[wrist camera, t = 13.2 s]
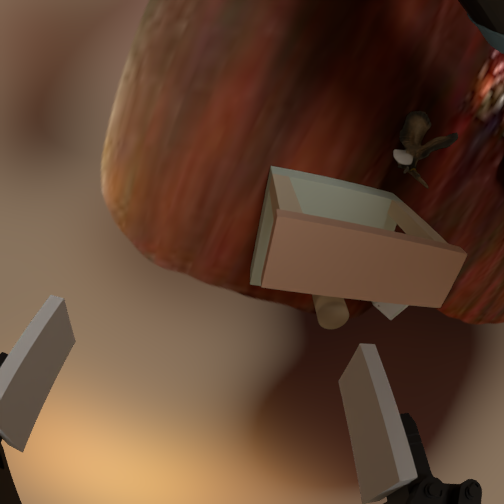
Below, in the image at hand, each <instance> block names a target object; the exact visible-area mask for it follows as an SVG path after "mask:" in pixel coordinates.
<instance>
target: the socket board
mask: <svg viewBox="0 0 504 504" xmlns="http://www.w3.org/2000/svg"><path fill="white" fill-rule="evenodd" d="M272 174H278V175H283V176H288V177H289V178H290V181H291V183H292V186H293V188H294V191H295V193H296V196H297V199H298V201H299V204H300V207H301V209H302V212H303V214H309V215H314V216H320V217H325V218H330V219H335V220H341V221H346V222H351V223H356V224H361V225H366V226H370V227H375V228H380V229H385V230H389V231H394V230H395V228H396V225H397V223H396V222H395V221H394V220H393V219H392V218H391V217H390V216H389V215H388V214H387V213H388V210H389V207H390V204H391V201H392V200H395V201H399V202H403V201H402V200H400V199H399V198H398V197H397V196H396V195H395V194H393V193H391V192H387V191H383V190H380V189H376V188H372V187H368V186H364V185H360V184H356V183H351V182H347V181H343V180H338V179H334V178H329V177H325V176H320V175H315V174H311V173H306V172H301V171H296V170H290V169H285V168H280V167H274V166H271V167H270V172H269V177H268V182H267V187H266V192H265V197H264V202H263V207H262V213H261V218H260V223H259V228H258V233H257V238H256V243H255V248H254V253H253V258H252V263H251V268H250V285H257V286H261V275H262V271H263V266H264V262H265V257H266V253H267V248H268V244H269V239H270V235H271V230H272V225H273V221H274V220H273V212H272V205H271V198H270V191H269V188H270V183H271V178H272ZM403 203H404V202H403Z"/></svg>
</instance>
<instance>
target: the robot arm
mask: <svg viewBox="0 0 504 504" xmlns="http://www.w3.org/2000/svg"><path fill="white" fill-rule="evenodd" d="M458 1H459V2H460V4H461V5H462V6H463V8H464V9H465V10H466V12H467V15H468V17H469V19H470V20H471V21H472V22H473V23H474V24H475V25H476V26H477V27H478V29H479V30H480V32H481V33H482V34H483V36H484V37H485V39H486V40H487V42H488V43H489V44H490V45H491V46H492V47H494V48H495V49H496V50H498V51H499V52H501V53H503V54H504V0H458ZM74 343H75V338H74V335H73V331H72V328H71V324H70V321H69V316H68V312H67V309H66V304H65V300H64V298H60V297H57V296H53V295H50V297H49V298H48V299H47V301H46V302H45V303H44V304H43V306H42V307H41V309H40V310H39V311H38V313H37V314H36V316H35V317H34V318H33V320H32V321H31V322H30V324H29V325H28V327H27V328H26V329H25V331H24V332H23V334H22V335H21V337H20V338H19V340H18V341H17V343H16V344H15V346H14V347H13V349H12V350H11V352H10V353H9V355H8V354H6V353H3V352H2V353H1V354H0V504H22V503H21V501H20V498H19V496H18V493H17V491H16V488H15V485H14V482H13V479H12V476H11V473H10V470H9V467H8V464H7V460H6V457H5V453H4V449H3V447H2V445H1V441H2V439H3V440H4V441H5V442H6V443H7V444H8V445H10V446H12V447H13V448H15V449H17V450H19V451H21V452H23V451H24V448H25V445H26V443H27V441H28V438H29V436H30V434H31V431H32V429H33V427H34V424H35V422H36V420H37V417H38V415H39V413H40V410H41V409H42V406H43V404H44V402H45V400H46V398H47V396H48V394H49V392H50V389H51V387H52V385H53V383H54V381H55V379H56V377H57V375H58V373H59V371H60V370H61V368H62V366H63V364H64V362H65V360H66V358H67V356H68V354H69V352H70V350H71V348H72V347H73V345H74ZM339 386H340V390H341V395H342V400H343V404H344V409H345V414H346V418H347V423H348V428H349V433H350V438H351V443H352V448H353V454H354V459H355V465H356V470H357V475H358V482H359V487H360V493H361V500H362V504H365V503H370V502H376V501H380V500H381V499H383V498H385V497H387V502H386V503H384V504H481V497H482V489H481V486H480V484H479V483H478V482H477V481H476V480H473V479H468V480H466V481H464V482H463V483H461V484H444V483H442V482H441V481H440V480H439V479H438V478H435V477H433V475H432V473H431V471H430V467H429V464H428V460H427V457H426V454H425V451H424V447H423V444H422V443H421V438H420V435H419V432H418V429H417V426H416V423H415V421H414V420H413V419H412V417H411V416H410V415H409V413H405V414H399V411H398V408H397V406H396V403H395V399H394V396H393V393H392V391H391V388H390V385H389V382H388V379H387V376H386V373H385V371H384V368H383V365H382V362H381V360H380V357H379V354H378V352H377V349H376V346H375V344H359V346H358V348H357V350H356V352H355V354H354V355H353V357H352V359H351V361H350V362H349V364H348V366H347V368H346V369H345V371H344V373H343V375H342V376H341V378H340V380H339Z"/></svg>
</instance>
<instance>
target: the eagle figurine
mask: <svg viewBox="0 0 504 504" xmlns="http://www.w3.org/2000/svg"><path fill="white" fill-rule="evenodd" d="M430 126H431V123H430V119H429V118H428V115H427V114H426V113H425V112H421V111H418V112H417V111H415V112H413V111H412V112H410V113H409V114H408V115H407V116H406V120H405V124H404V126H403V129H401V131H400V137H399V139H400V142H402V144H403V145H404V148H405V150H397V149H395V150H394V151H393V157H394V158H395V160H396V161H397V162H398V163H397V164H398V166H397V167H398V168H402V169H405V170H404V172H403V173H404V174H405V173H406V172H408V173H410V174H411V175H412V176H413V177H414V178H415V179H416V180H418V181H419V182H420V183H421V184H423V185H424V186H425V187H426V188H427V189H428V185H427V184H426V182H425V181H423V180H422V178H420V174H418V173H417V171H416V163H417V161H418V160H419V159H420V160H421V159H423V158H426V157H427V156H429V154H430V153H431V152H432V151H434V150H438V149H440V148H441V149H442V148H447V147H448V146H450V145H451V144H452V143H454V142H455V141H456V140H457V139H458V134H457V133H453V134H450V135H448V136H446V137H437V138H435V139H433V140H431V141H429V142H428V143H426V144H425V145H423V146H421V143H422V139H423V137H424V135H425V133H426V131H427V130H428V129H429V128H430ZM409 165H410V166H409Z"/></svg>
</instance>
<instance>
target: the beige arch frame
mask: <svg viewBox="0 0 504 504" xmlns="http://www.w3.org/2000/svg"><path fill="white" fill-rule="evenodd" d="M269 191H270V198H271V205H272V212H273V220H274V221H273V225H272V230H271V235H270V239H269V244H268V248H267V253H266V257H265V262H264V266H263V271H262V275H261V287H262V288H269V289H276V290H284V291H291V292H299V293H307V294H315V295H323V296H331V297H339V298H348V299H356V300H365V301H374V302H383V303H393V304H403V305H414V306H424V307H434V308H440V307H441V305H442V304H443V302H444V300H445V298H446V296H447V294H448V293H449V291H450V289H451V287H452V285H453V283H454V281H455V279H456V277H457V275H458V273H459V271H460V269H461V267H462V265H463V263H464V261H465V259H466V256H467V253H466V252H465V251H464V250H463V249H462V248H461V247H458V246H454V245H450V244H448V243H447V242H446V241H445V240H444V239H443V238H442V237H441V236H440V235H439V234H438V233H437V232H436V231H434V230H433V229H432V228H431V227H430V226H429V225H428V224H427V223H426V222H425V221H424V220H423V219H422V218H421V217H420V216H418V215H417V214H416V213H415V212H414V211H413V210H412V209H411V208H410V207H408V206H407V205H406V204H405V203H403V202H399V201H395V200H392V201H391V204H390V207H389V210H388V213H387V214H388V215H389V216H390V217H391V218H392V219H393V220H394V221H395V222H396V223H397V224H398V225H399V226H400V228H401V229H402V230H403V231H404V232H405V233H406V234H403V233H398V232H394V231H389V230H385V229H380V228H375V227H370V226H366V225H361V224H356V223H351V222H346V221H341V220H335V219H330V218H325V217H320V216H314V215H309V214H303V212H302V209H301V207H300V204H299V201H298V199H297V196H296V193H295V191H294V188H293V186H292V183H291V181H290V178H289V177H288V176H283V175H278V174H272V178H271V183H270V188H269Z"/></svg>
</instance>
